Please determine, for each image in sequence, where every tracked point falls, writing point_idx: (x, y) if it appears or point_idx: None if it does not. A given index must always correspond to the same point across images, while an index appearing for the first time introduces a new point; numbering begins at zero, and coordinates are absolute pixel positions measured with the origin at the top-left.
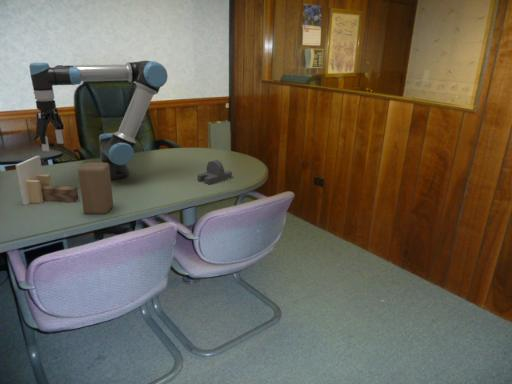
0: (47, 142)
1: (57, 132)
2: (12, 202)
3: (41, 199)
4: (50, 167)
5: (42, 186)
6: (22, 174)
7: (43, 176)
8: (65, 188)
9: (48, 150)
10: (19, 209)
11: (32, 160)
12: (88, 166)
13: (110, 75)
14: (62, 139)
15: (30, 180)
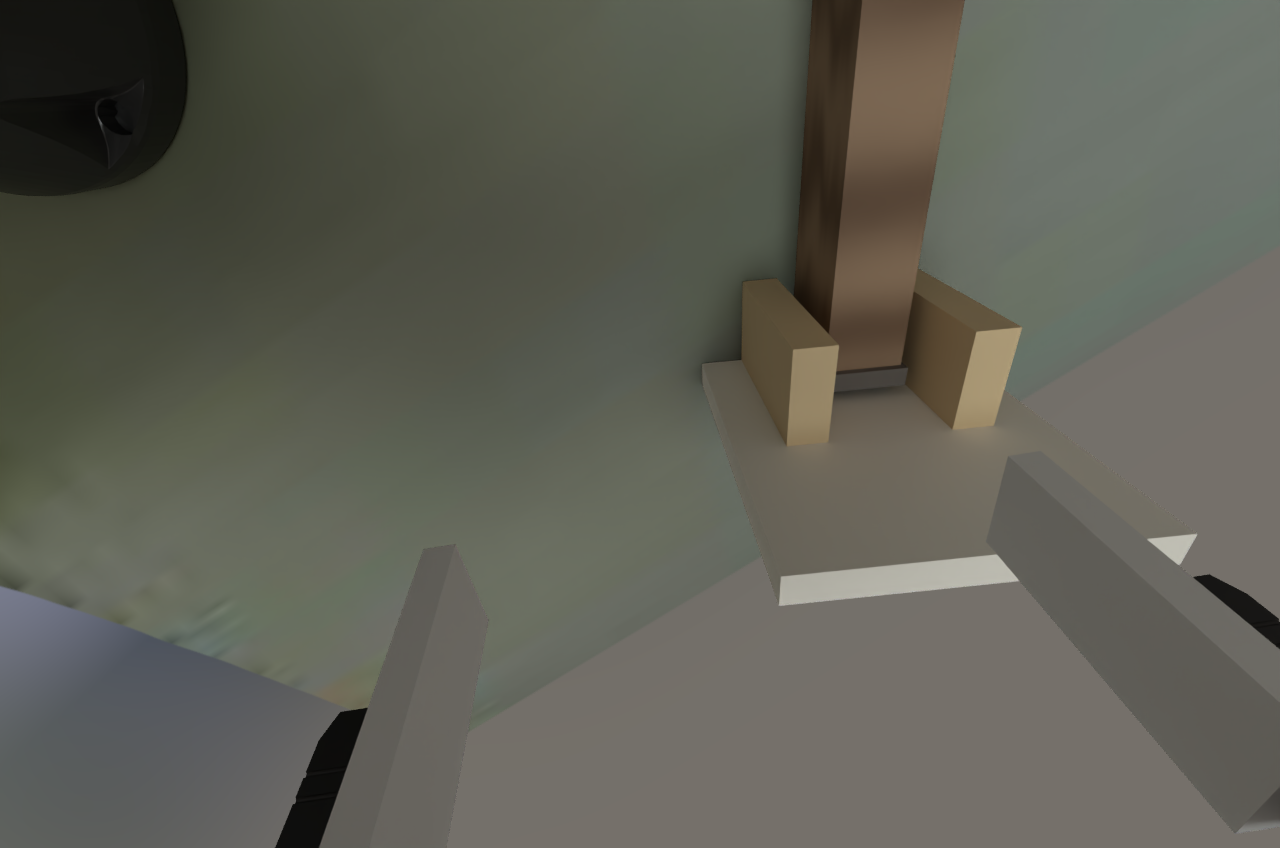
0: (1180, 580)
1: (423, 842)
2: None
3: None
4: (239, 629)
5: (860, 334)
6: (1077, 465)
7: (833, 383)
8: (912, 80)
9: (1047, 461)
10: None
11: (932, 550)
12: None
13: None
14: (431, 612)
15: (971, 406)
